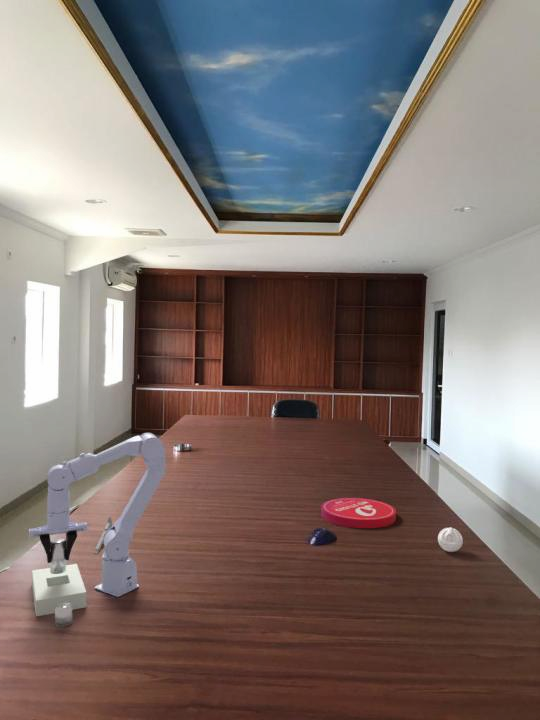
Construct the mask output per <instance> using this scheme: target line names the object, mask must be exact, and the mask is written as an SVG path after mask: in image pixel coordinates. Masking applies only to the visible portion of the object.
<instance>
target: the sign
mask: <svg viewBox="0 0 540 720" xmlns="http://www.w3.org/2000/svg"><path fill="white" fill-rule="evenodd" d="M320 511H321V512H320V513H321V518H323V519H324V520H325V521H327V522H329V523H332V524H334V525H338V526H342V527H347V528H356V529H375V528H376V529H377V528H378V529H379V528H384V527H388V526H391V525H393V524H394V523H395V522H396V520H397V518H396V517H397V511H396V508H395V507H393V506H392V505H390V504H388V503H386V502H383V501H379V500H375V499H369V498H361V497H342V498H340V497H339V498H335V499H330V500H327V501H325V502H323V503H322V504H321V509H320Z"/></svg>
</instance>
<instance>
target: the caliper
mask: <svg viewBox="0 0 540 720" xmlns="http://www.w3.org/2000/svg"><path fill="white" fill-rule="evenodd" d="M112 526H113V519H112V517H111V516H109V517H107V522H106V525H105V527H104V529H103V532H102V534H101V536H100V538H99V540H98V542H97V545H96V547H95V548H94V551H93V552H94V553H93V554H95V555H96V554H98V553H99V552H100V550H101V548H102V546H103V545H104V543H103V536H104V534H105V532H106V531H107V530H109V529H110V528H111V527H112Z"/></svg>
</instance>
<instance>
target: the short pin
mask: <svg viewBox="0 0 540 720" xmlns="http://www.w3.org/2000/svg"><path fill="white" fill-rule="evenodd" d="M73 619H74V618H73V610H72V604H71V603H62V604H59V605H57V606H56V607H55V613H54V625H55V626H56V627H58V628H65V627H68V626H71V624H73V622H74V621H73Z"/></svg>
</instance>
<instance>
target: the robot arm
mask: <svg viewBox="0 0 540 720" xmlns="http://www.w3.org/2000/svg"><path fill="white" fill-rule="evenodd" d="M166 454H167V450H166V448H165V445H164V443H163V442H162V440H161V439H159V438H158V437H157V436H156V434H154V433H152V432H143V433H142V434H141V435H135V436H133V437H130V438H128V439H126V440H124V441H122V442H120V443H118V444H116V445H113V446H111V447H108V448H107V449H105V450H103V451H100V452H98V453H97V454H93V453H91V452H87V453H85V452H82V453H80V454H79V456H78V457H76V458H74V459H71V460H68V461H66V460H64V461H62V463H61V464H57V465H56V464H55V465H54V466H52V467H51V468H50V469H49V470H48V472H47V475H46V477H47V479H46V481H47V484H48V487H47V492H48V493H47V495H46V496H47V504H46V508H47V509H46V512H47V513H46V517H47V518H46V520H47V521H46V525H43V526H39V527H35V528H29V529H28V538H29V539H34V538H36V537H39V539H40V540H39V541H40V543H41V545H42V547H43V549H44V552H45V554H46V560H47V564H50V563H51V556H50V542H51V541H52V540H51V535H52V536H53V535H60V534H61V535H62V534H65V540H66V561H70V556H71V552H72V549H73V546H74V544H75V542H76V541H77V538H78V532H87V531H88V524H87V522H86V521H85V522H71V521H70V520H71V492H70V484H71V483H73V482H77V481H80V480H81V479H84V478H87V477H89V476H91V475H93V474H95V473H97V472H98V470H99V468H100V467H101V466H103V465H105V464H108V463H110V462H113V461H115V460H117V459H120V458H123V457H126V456H132V457H138V458H140V455H141V456H142V457H143V460H144V464H145V466H146V470H145V472H144V474H143V475H142V478H141V479H140V481H139V483H138V484H137V486H136V489H135V490H134V492H133V493H132V495H131V496H130V499H129V500H128V502H127V504H126V506H125V508H124V509H123V511H122V513H121V515H120V516H119V518H118V519H117V520H115V521H114V522H113V523H112V527H111V528H110V529H109V530H107V531H106V532H105V534H104V536H103V545H104V552H103V553H102V555H101V583H99V584H97V585H96V586H94V589H95V590H98V591H100V592H103V593H106V594H108V595H112V596H114V597H117V598H119V597H121V596H123V595H125V594H127V593H130V592H131V591H133V590H136V589H137V588H139V587H140V585H139V584H138V577H137V576H138V565H137V562H136V561H135V560H133V559H132V558H131V556H130V555H129V554H130V553H129V549H130V542H131V541H132V539H133V536H134V532H135V528H136V526H137V524H138V522H139V521H140V519H141V517H142V516H143V513H144V512H145V510H146V508H147V506H148V505H149V503H150V501H151V499H152V498H153V495H154V494H155V492H156V490H157V488H158V487H159V485H160V483H161V481H162V479H163V478H164V476H165V474H166V472H167V465H166Z"/></svg>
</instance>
